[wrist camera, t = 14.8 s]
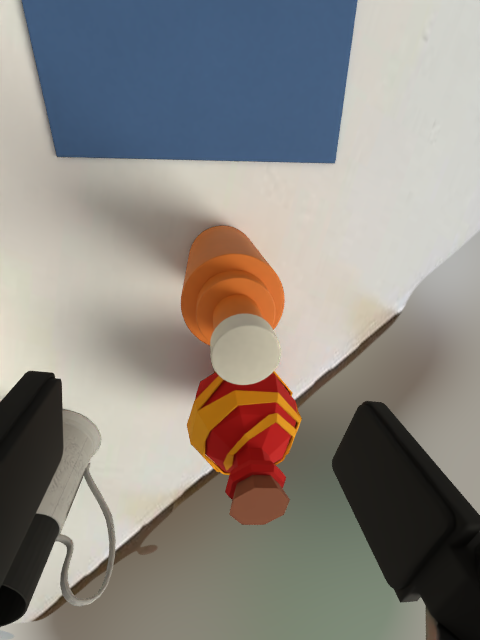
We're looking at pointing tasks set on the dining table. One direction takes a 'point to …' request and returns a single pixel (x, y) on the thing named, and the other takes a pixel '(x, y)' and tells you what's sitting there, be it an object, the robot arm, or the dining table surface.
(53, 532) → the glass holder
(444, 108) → the dining table surface
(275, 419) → the potion bottle
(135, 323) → the dining table surface
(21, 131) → the dining table surface
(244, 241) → the bottle
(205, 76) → the cloth
